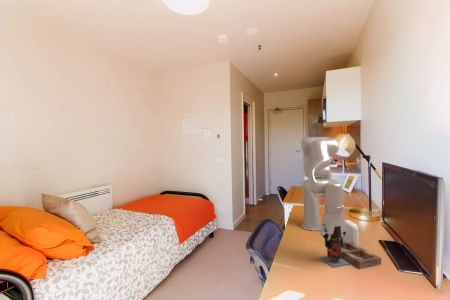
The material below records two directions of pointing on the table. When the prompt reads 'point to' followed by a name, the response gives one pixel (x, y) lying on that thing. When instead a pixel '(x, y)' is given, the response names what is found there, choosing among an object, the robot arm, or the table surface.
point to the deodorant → (335, 244)
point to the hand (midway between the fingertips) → (333, 246)
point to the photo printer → (351, 233)
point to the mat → (334, 262)
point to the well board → (357, 252)
